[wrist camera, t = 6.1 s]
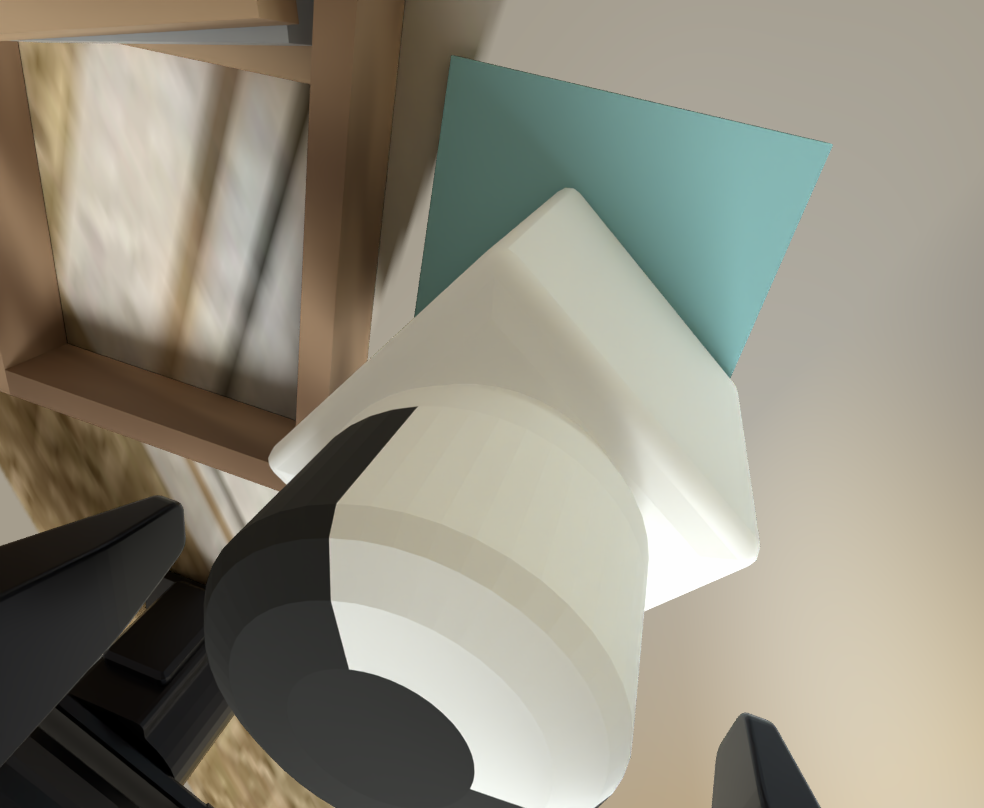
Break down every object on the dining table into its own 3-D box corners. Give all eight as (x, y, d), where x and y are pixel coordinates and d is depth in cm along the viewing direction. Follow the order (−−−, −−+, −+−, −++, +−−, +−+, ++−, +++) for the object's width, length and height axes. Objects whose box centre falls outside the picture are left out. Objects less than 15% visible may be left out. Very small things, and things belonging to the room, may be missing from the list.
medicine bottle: (545, 506, 20) (395, 941, 10) (393, 341, 19) (49, 645, 9) (742, 389, 17) (822, 874, 7) (572, 178, 16) (343, 368, 5)
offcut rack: (356, 465, 22) (320, 506, 20) (48, 359, 24) (-14, 386, 22) (437, -311, 13) (385, -391, 10) (-88, -387, 14) (-223, -467, 12)
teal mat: (638, 580, 21) (637, 588, 21) (392, 495, 22) (388, 501, 22) (829, 143, 14) (832, 144, 14) (456, 55, 15) (451, 55, 15)
